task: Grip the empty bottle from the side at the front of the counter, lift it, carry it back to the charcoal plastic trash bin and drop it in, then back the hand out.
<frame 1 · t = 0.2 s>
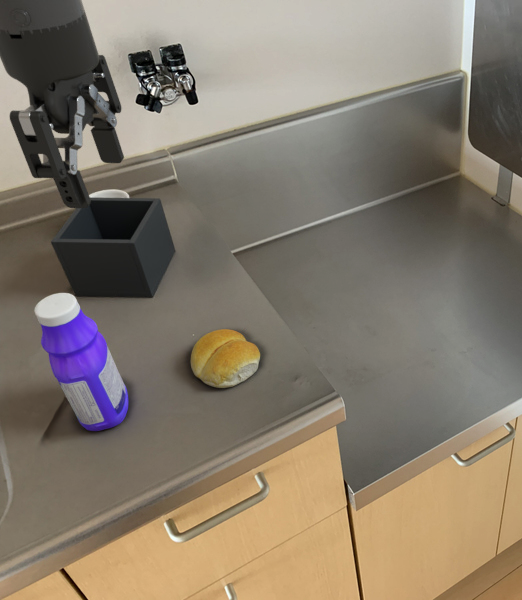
hand: (97, 182, 61), 28 cm above the countertop, tool pointing down, fingers open, 8 cm apart
bottle: (107, 412, 75), on the countertop
bread roll: (227, 365, 81), on the countertop
teacup: (120, 227, 105), on the countertop
trash bin: (127, 272, 95), on the countertop
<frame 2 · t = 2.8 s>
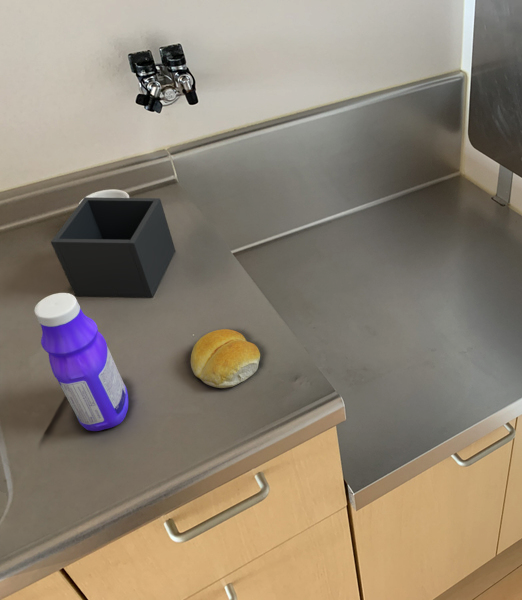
nothing on the countertop moved.
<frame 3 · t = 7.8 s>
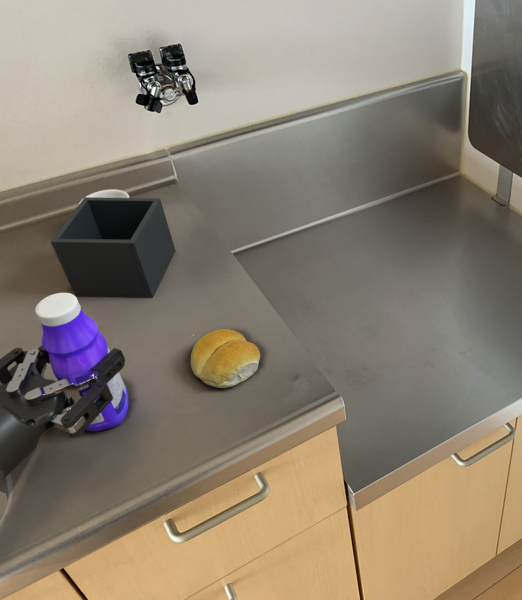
hand: (94, 344, 70), 10 cm above the countertop, tool horizontal, fingers closed on bottle, 7 cm apart
bottle: (107, 412, 75), on the countertop, touching gripper
everything else where it was.
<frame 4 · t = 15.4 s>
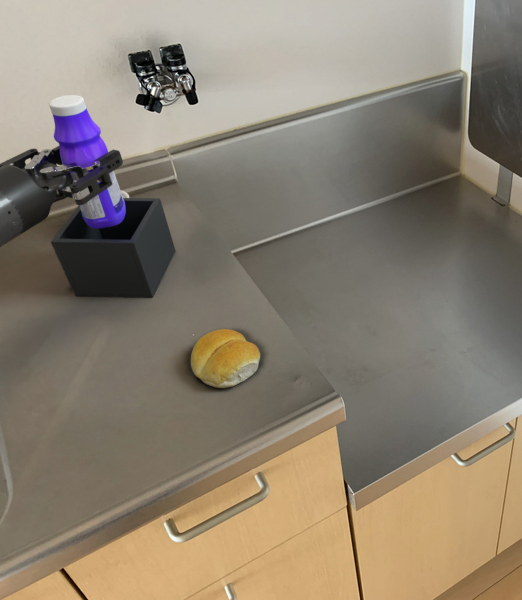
hand: (97, 151, 84), 20 cm above the countertop, tool horizontal, fingers closed on bottle, 7 cm apart
bottle: (107, 219, 88), point 10 cm above the countertop, touching gripper
everything else where it was.
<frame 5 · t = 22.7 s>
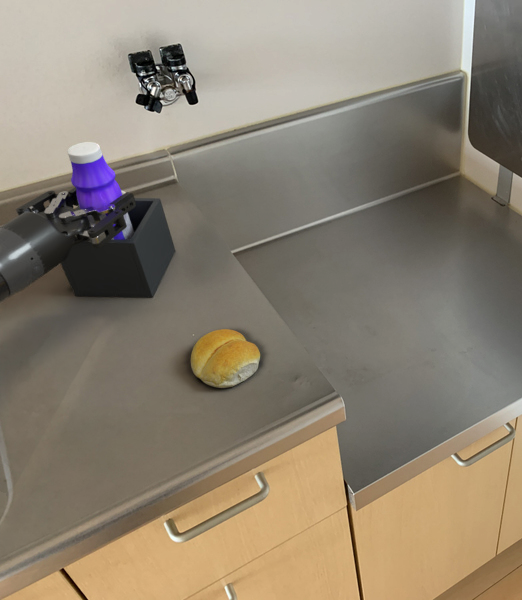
hand: (111, 192, 88), 13 cm above the countertop, tool horizontal, fingers closed on bottle, 7 cm apart
bottle: (120, 254, 93), point 4 cm above the countertop, touching gripper
everything else where it was.
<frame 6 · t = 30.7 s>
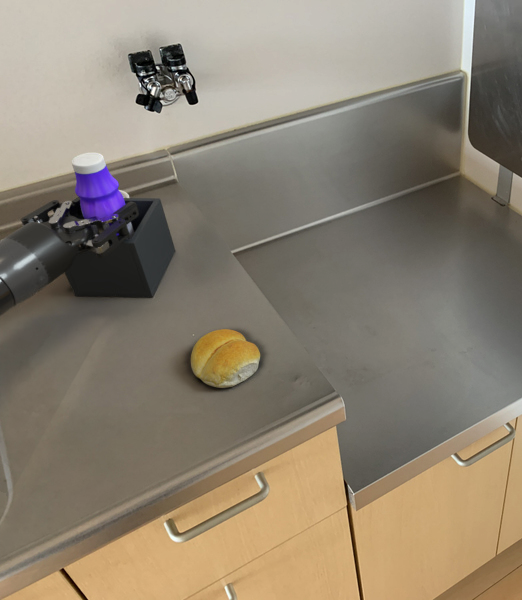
hand: (115, 201, 89), 12 cm above the countertop, tool horizontal, fingers closed on bottle, 7 cm apart
bottle: (123, 262, 94), point 2 cm above the countertop, touching gripper
everything else where it was.
when the fingers open (14 cm above the countertop, at t = 37.9 s): bottle drops 3 cm, resting on trash bin.
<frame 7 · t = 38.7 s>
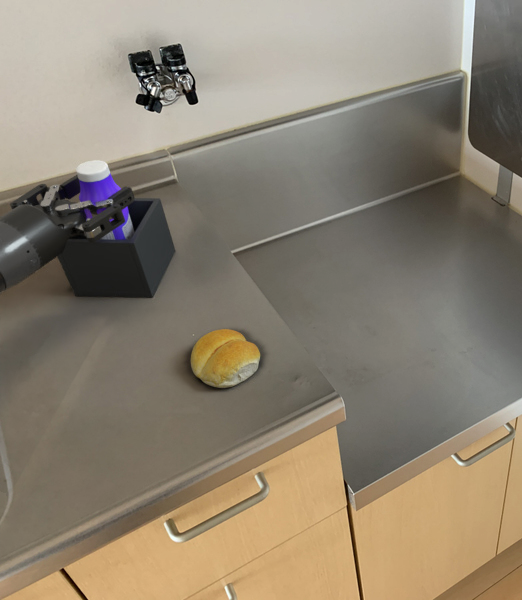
hand: (107, 186, 87), 14 cm above the countertop, tool horizontal, fingers open, 8 cm apart
bottle: (125, 268, 95), point 1 cm above the countertop, touching trash bin
everything else where it was.
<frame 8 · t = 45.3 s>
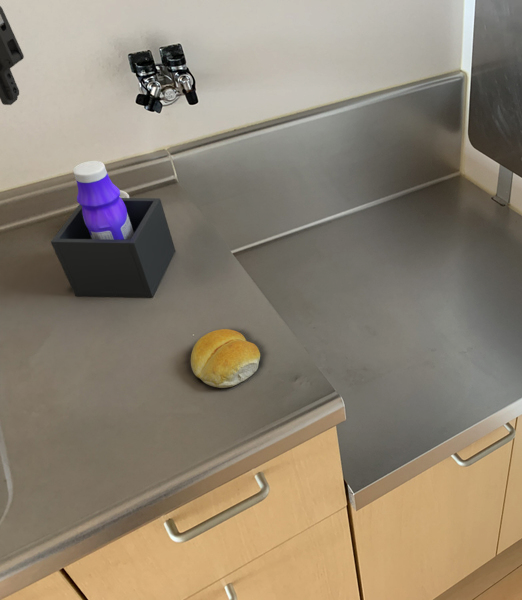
nothing on the countertop moved.
at the end: bottle inside the target area in the trash bin (0.1 cm from its centre), point 0.8 cm above the trash bin's base; the gripper is holding nothing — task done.
